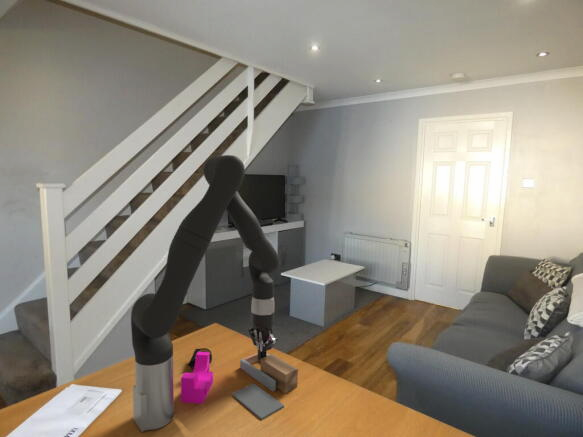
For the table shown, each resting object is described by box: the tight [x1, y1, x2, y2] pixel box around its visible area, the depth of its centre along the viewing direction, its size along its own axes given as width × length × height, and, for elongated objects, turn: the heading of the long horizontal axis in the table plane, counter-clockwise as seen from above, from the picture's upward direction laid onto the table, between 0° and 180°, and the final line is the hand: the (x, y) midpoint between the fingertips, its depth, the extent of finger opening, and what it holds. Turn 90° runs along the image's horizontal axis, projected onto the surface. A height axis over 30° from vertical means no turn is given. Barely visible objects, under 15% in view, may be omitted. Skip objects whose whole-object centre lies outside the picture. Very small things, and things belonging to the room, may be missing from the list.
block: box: [260, 353, 299, 394], centre depth 108 cm, size 5×12×6 cm, turn 43°
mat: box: [231, 383, 285, 421], centre depth 98 cm, size 8×14×1 cm, turn 43°
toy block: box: [180, 352, 214, 404], centre depth 104 cm, size 15×6×8 cm, turn 177°
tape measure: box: [187, 347, 213, 369], centre depth 116 cm, size 7×7×4 cm
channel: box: [239, 352, 277, 392], centre depth 112 cm, size 10×17×3 cm, turn 43°
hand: (262, 360), depth 114 cm, fingers closed
